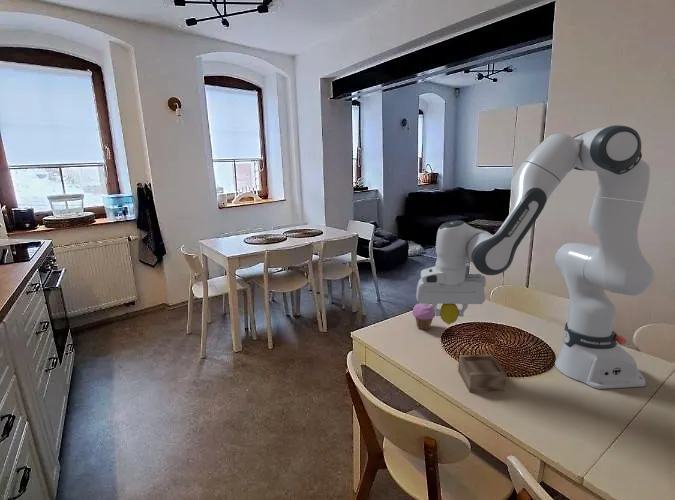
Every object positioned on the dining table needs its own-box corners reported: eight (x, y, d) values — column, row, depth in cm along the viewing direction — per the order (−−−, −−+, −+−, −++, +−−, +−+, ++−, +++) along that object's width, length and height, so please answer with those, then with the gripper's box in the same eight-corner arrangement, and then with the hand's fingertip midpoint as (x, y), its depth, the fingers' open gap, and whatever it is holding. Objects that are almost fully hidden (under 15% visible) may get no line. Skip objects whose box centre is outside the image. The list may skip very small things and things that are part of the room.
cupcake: (434, 334, 135) (435, 309, 132) (410, 331, 138) (411, 307, 135) (435, 323, 143) (436, 300, 141) (413, 321, 146) (414, 298, 143)
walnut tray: (489, 371, 112) (491, 354, 110) (504, 392, 102) (506, 373, 101) (457, 372, 112) (459, 355, 110) (469, 392, 102) (471, 374, 101)
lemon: (458, 328, 110) (460, 305, 108) (440, 328, 111) (441, 304, 109) (456, 320, 115) (457, 297, 113) (439, 319, 116) (439, 297, 114)
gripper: (483, 270, 110) (481, 311, 114) (416, 270, 113) (415, 310, 117) (488, 277, 104) (486, 320, 108) (417, 277, 107) (417, 319, 111)
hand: (449, 315), depth 112 cm, fingers closed on lemon, 5 cm apart
